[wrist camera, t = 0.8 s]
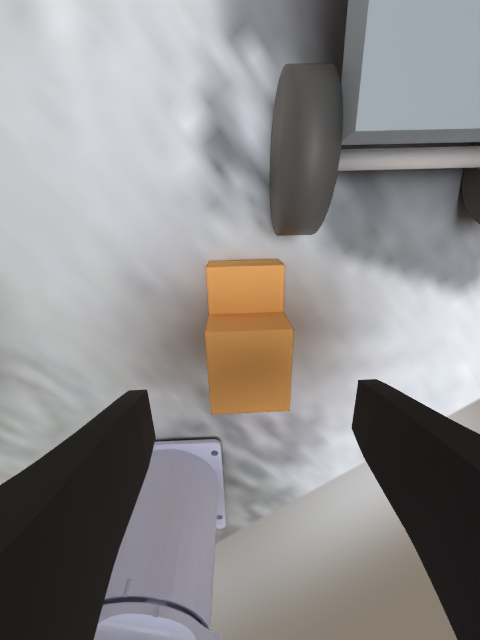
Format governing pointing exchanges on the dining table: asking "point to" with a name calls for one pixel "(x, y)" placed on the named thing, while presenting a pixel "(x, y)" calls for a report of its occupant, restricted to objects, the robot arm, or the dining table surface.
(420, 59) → the trolley
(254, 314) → the block
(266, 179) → the dining table surface
